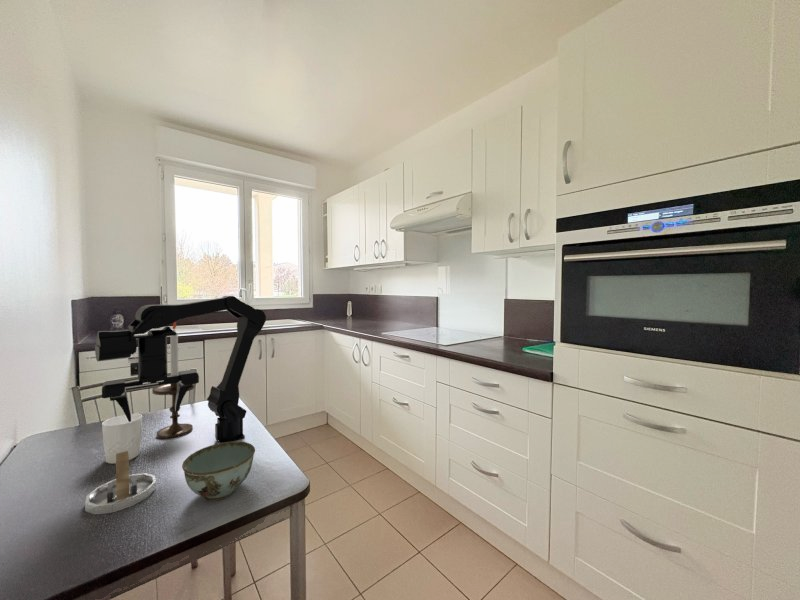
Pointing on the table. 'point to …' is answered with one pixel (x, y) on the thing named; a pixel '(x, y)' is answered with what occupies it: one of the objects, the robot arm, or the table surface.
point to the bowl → (218, 469)
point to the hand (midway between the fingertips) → (154, 416)
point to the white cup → (122, 436)
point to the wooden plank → (122, 475)
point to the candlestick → (171, 389)
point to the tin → (106, 500)
